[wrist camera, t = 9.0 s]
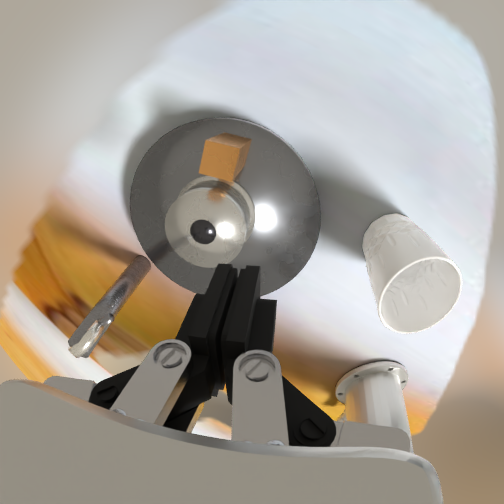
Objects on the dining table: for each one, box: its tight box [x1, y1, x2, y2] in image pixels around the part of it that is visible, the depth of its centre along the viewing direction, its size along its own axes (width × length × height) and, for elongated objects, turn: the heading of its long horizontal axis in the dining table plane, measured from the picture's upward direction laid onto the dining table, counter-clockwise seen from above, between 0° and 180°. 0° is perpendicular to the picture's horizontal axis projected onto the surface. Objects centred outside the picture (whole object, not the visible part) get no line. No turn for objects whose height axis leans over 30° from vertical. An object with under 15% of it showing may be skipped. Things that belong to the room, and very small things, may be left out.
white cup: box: [362, 213, 462, 334], centre depth 23 cm, size 8×8×10 cm
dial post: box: [68, 256, 151, 358], centre depth 27 cm, size 6×2×16 cm, turn 124°
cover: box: [165, 175, 256, 268], centre depth 24 cm, size 8×8×4 cm
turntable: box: [130, 118, 321, 296], centre depth 25 cm, size 19×19×7 cm
